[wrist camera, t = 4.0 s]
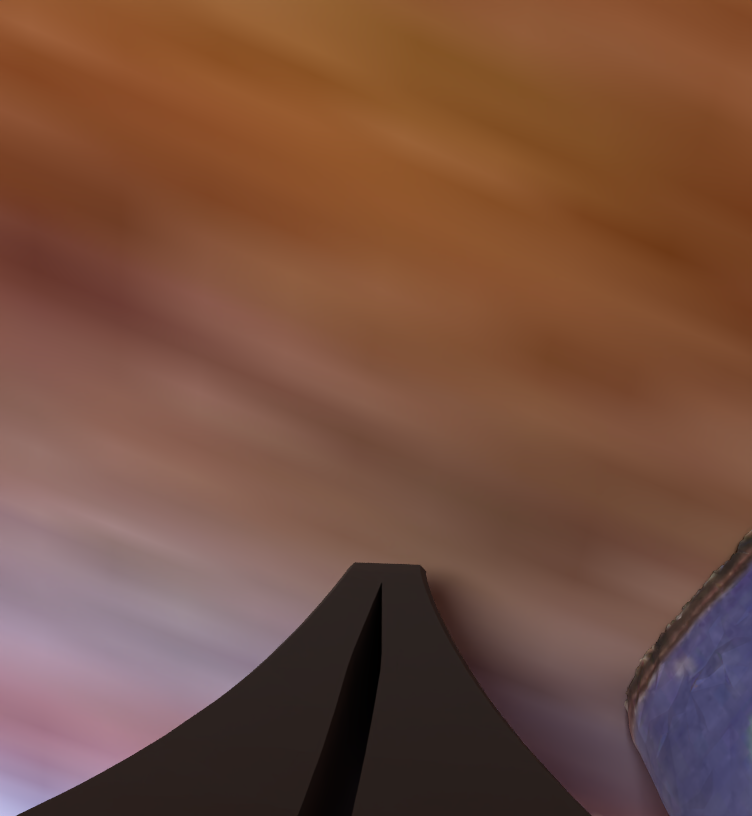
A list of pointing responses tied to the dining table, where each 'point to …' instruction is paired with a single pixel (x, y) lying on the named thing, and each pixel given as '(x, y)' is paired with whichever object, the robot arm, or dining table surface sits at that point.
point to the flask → (701, 699)
